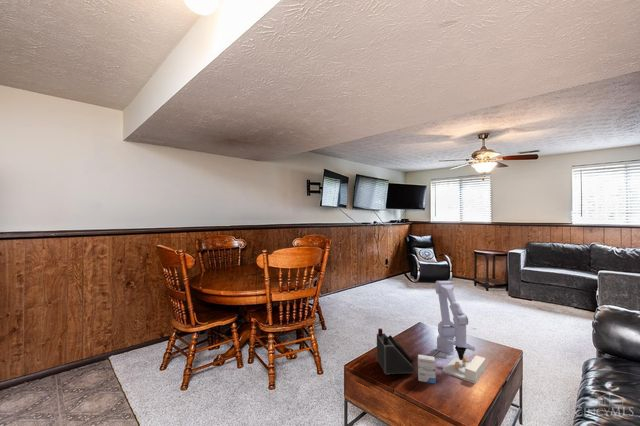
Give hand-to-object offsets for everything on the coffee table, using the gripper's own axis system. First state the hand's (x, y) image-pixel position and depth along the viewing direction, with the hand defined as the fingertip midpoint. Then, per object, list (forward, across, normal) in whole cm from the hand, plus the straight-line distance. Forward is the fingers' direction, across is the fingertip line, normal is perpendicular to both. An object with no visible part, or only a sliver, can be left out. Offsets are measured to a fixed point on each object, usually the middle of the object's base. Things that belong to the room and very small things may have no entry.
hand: (461, 359), depth 161 cm
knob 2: (+2, +3, 0) cm, 3 cm away
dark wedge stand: (+3, -26, -29) cm, 39 cm away
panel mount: (+3, +3, -4) cm, 6 cm away
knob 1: (+2, +2, -9) cm, 9 cm away
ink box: (+3, -8, -28) cm, 29 cm away
